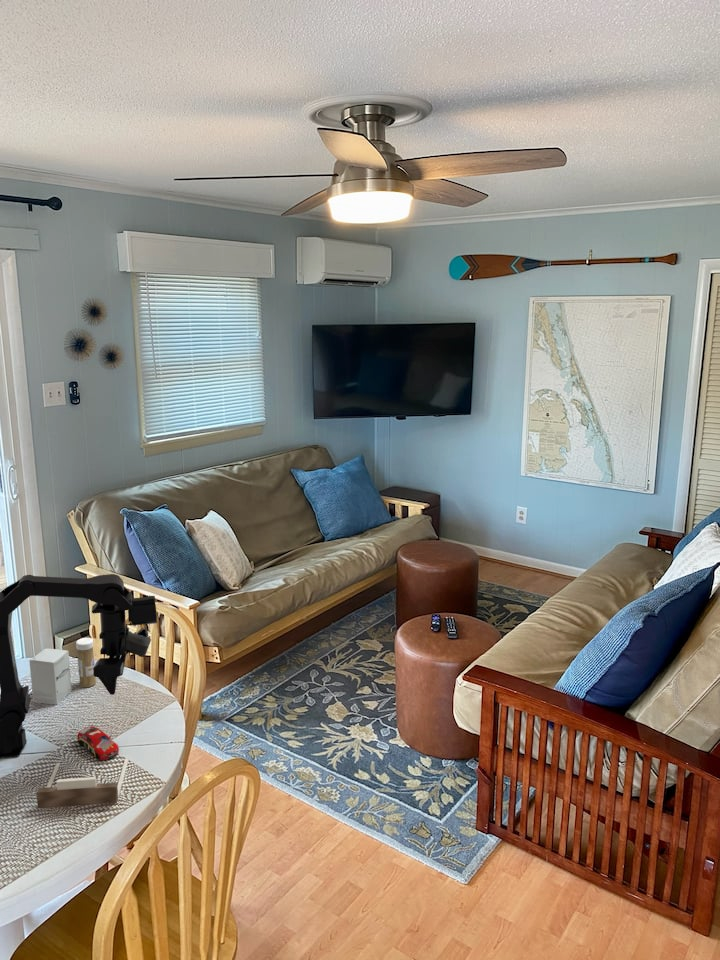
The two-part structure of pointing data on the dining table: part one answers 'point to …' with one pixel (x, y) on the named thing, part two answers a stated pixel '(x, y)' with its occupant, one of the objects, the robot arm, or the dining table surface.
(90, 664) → the sprinkles bottle
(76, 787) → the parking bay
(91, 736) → the race car
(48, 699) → the supplement box
